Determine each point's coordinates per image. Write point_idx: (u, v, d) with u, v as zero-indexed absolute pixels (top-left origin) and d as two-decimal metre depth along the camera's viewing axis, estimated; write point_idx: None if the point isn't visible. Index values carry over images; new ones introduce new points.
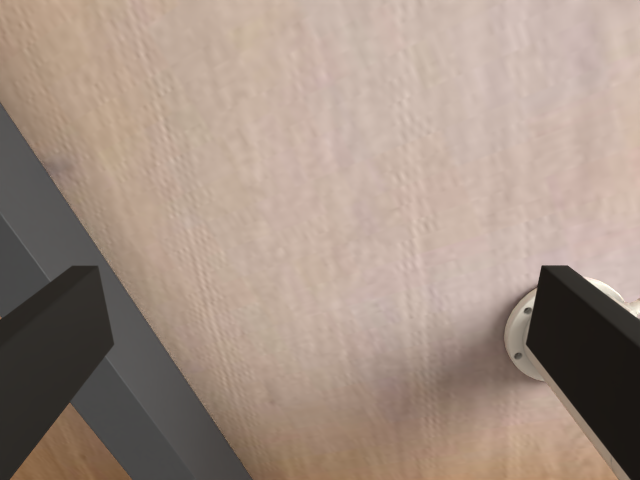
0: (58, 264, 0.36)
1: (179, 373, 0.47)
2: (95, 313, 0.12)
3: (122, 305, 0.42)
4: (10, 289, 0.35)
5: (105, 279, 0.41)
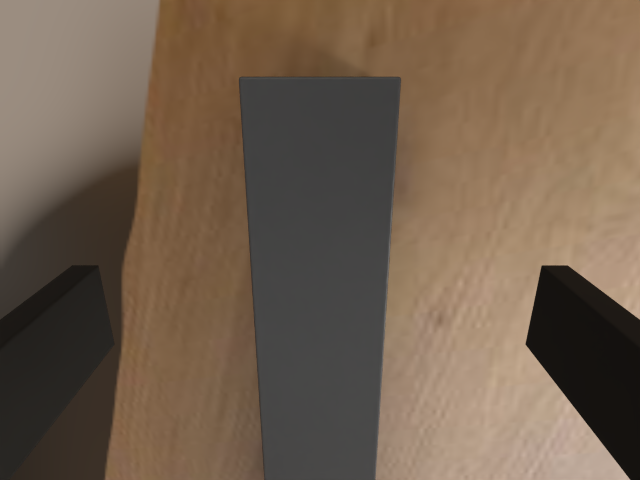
0: None
1: None
2: (95, 313, 0.12)
3: None
4: None
5: None
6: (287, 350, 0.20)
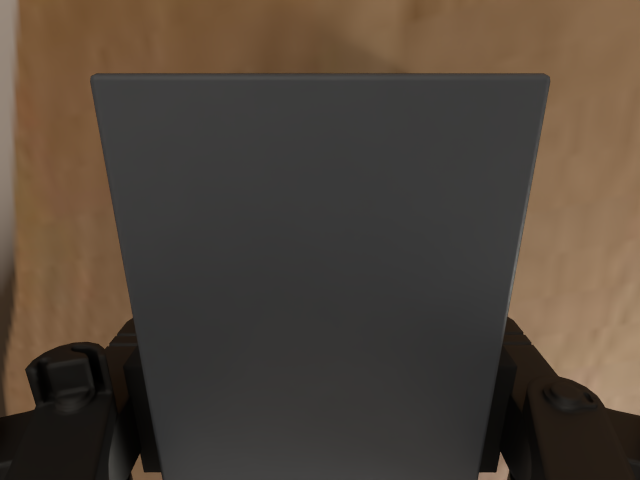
0: None
1: None
2: None
3: None
4: None
5: None
6: None
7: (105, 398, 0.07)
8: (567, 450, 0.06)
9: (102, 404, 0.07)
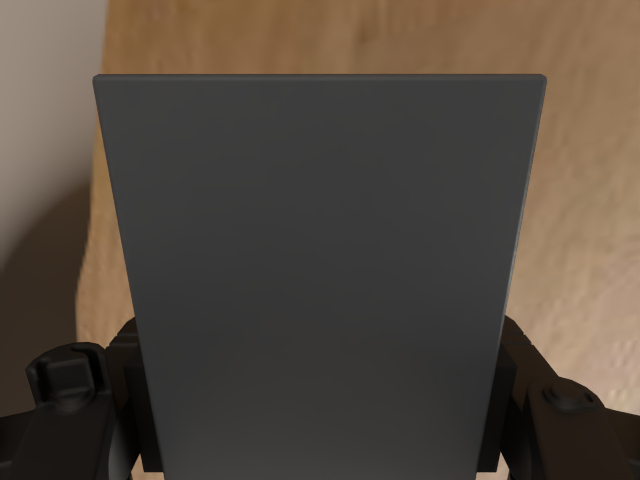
0: None
1: None
2: None
3: None
4: None
5: None
6: None
7: (105, 398, 0.07)
8: (567, 450, 0.06)
9: (102, 404, 0.07)
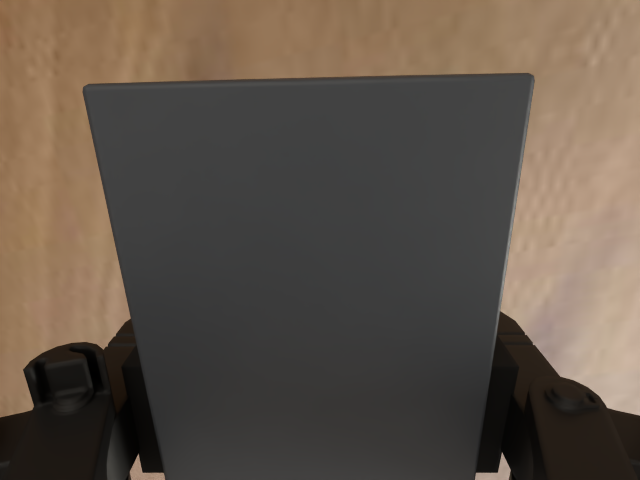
0: None
1: None
2: None
3: None
4: None
5: None
6: None
7: (103, 398, 0.07)
8: (569, 450, 0.06)
9: (100, 404, 0.07)
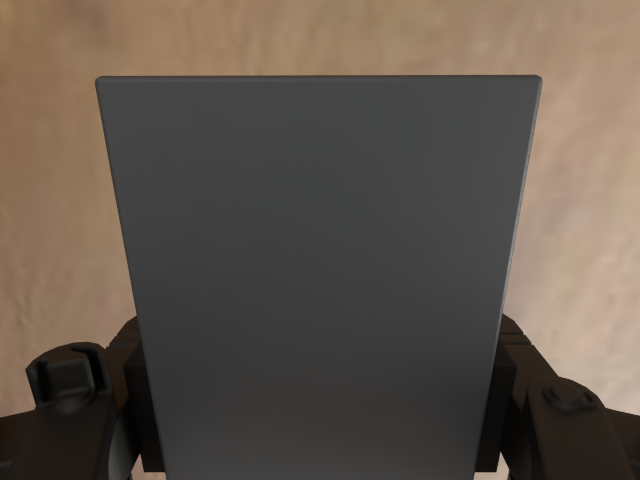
0: None
1: None
2: None
3: None
4: None
5: None
6: None
7: (105, 398, 0.07)
8: (567, 450, 0.06)
9: (102, 404, 0.07)
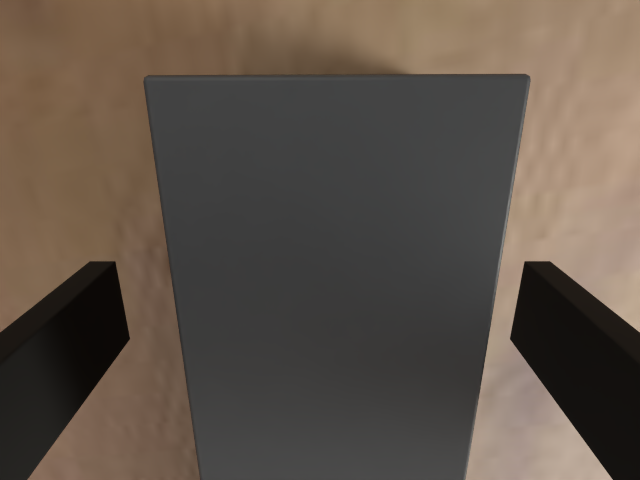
0: None
1: None
2: (112, 308, 0.12)
3: None
4: None
5: None
6: None
7: None
8: None
9: None
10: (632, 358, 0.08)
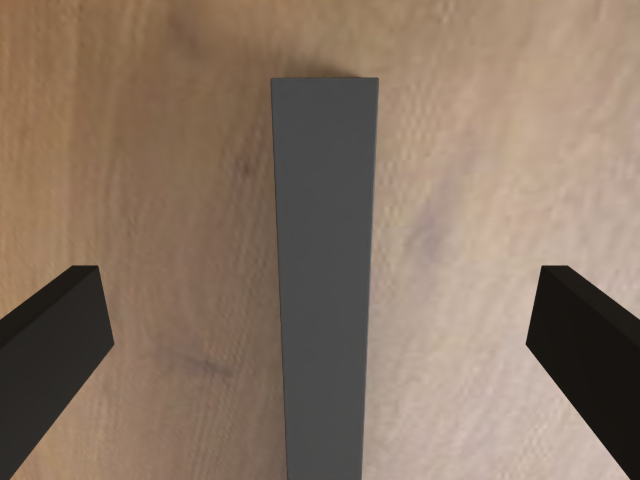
0: None
1: None
2: (95, 313, 0.12)
3: None
4: None
5: None
6: (301, 274, 0.27)
7: None
8: None
9: None
10: None
